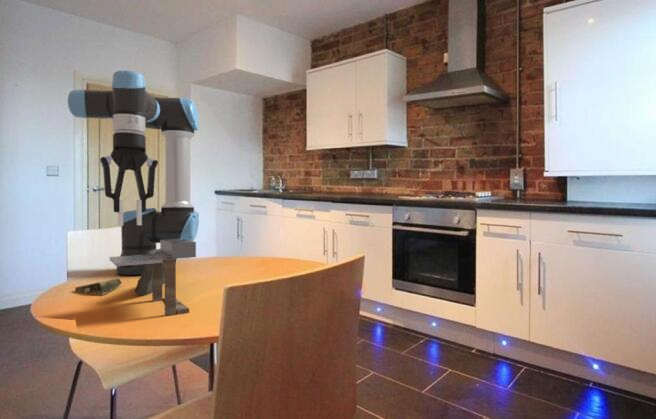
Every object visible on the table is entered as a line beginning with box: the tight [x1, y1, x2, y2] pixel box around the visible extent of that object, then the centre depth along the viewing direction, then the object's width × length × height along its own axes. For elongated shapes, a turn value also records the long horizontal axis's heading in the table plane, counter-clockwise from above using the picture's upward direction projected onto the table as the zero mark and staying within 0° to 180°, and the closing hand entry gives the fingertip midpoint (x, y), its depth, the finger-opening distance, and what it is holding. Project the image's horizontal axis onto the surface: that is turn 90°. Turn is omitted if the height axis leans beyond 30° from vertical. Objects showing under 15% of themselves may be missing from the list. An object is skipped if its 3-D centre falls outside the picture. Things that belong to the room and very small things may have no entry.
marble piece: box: [134, 248, 178, 297], centre depth 123 cm, size 17×15×4 cm
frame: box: [151, 253, 190, 317], centre depth 109 cm, size 16×6×14 cm, turn 34°
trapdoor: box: [109, 239, 197, 267], centre depth 106 cm, size 13×19×5 cm
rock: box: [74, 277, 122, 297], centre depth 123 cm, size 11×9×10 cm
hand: (130, 225), depth 103 cm, fingers open, 4 cm apart
